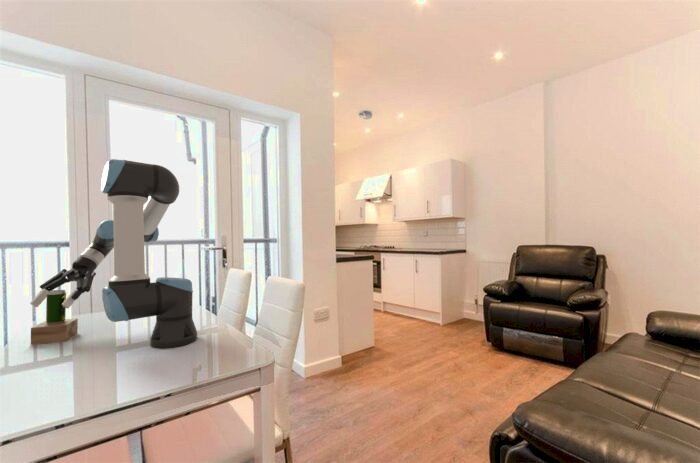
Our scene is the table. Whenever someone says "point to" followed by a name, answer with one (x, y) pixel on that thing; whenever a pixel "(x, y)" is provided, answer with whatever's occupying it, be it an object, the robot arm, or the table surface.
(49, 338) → the walnut block
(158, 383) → the table surface
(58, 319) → the guarana soda can
